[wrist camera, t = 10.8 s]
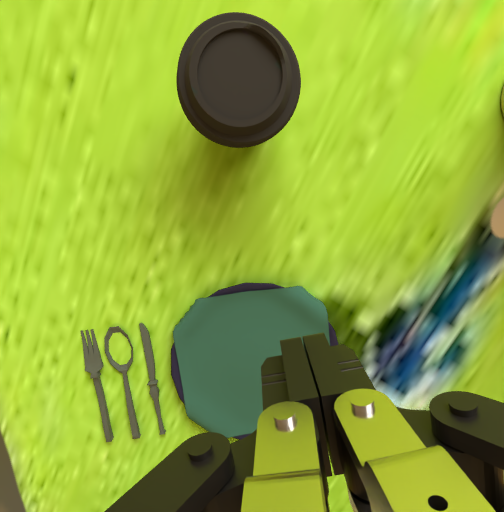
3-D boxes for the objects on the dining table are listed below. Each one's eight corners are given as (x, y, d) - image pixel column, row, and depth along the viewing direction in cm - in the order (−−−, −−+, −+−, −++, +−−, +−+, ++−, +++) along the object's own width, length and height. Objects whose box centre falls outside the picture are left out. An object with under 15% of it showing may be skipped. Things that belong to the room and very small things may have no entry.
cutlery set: (344, 421, 48) (348, 433, 46) (108, 448, 49) (101, 461, 46) (330, 268, 44) (334, 273, 42) (75, 299, 45) (66, 305, 43)
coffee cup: (243, 174, 41) (242, 172, 27) (179, 114, 40) (142, 78, 25) (301, 109, 40) (334, 70, 26) (237, 45, 39) (233, -35, 24)
